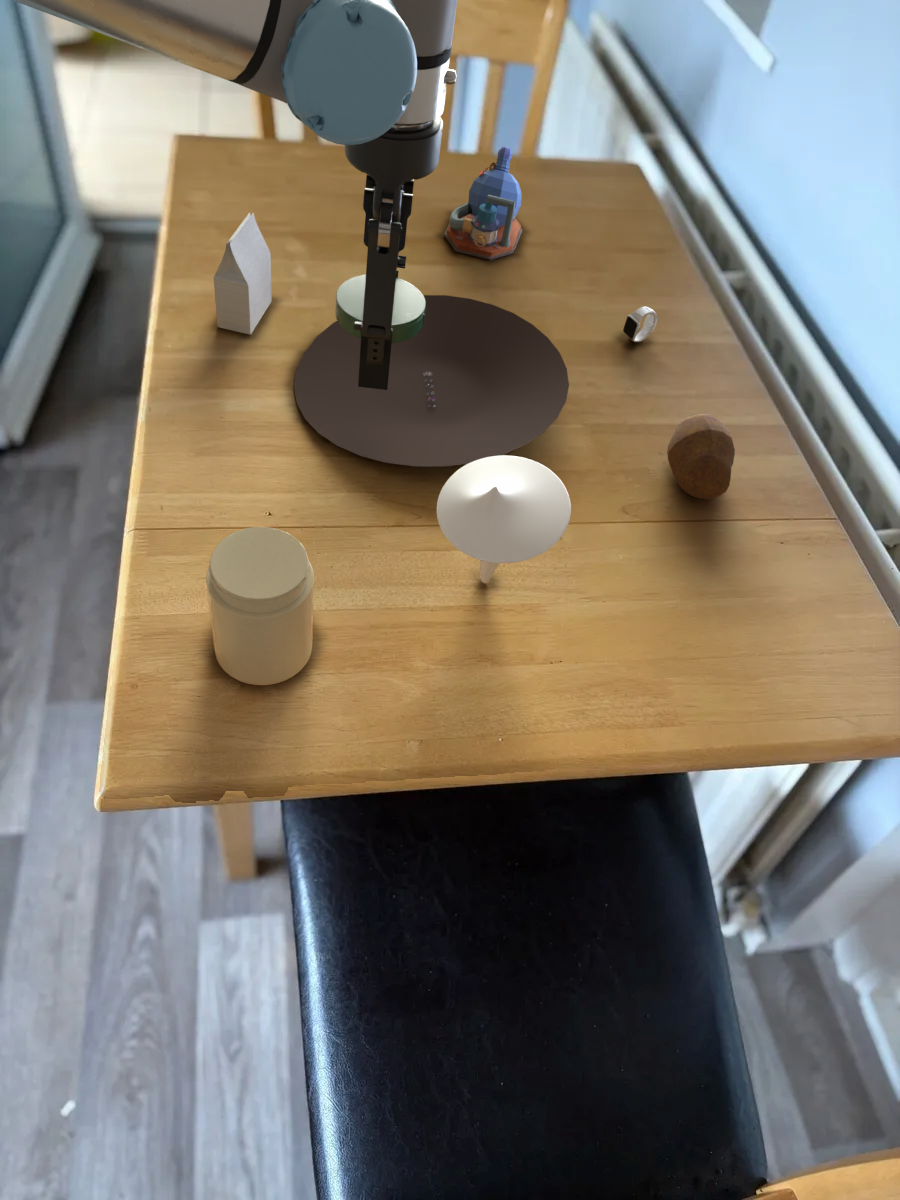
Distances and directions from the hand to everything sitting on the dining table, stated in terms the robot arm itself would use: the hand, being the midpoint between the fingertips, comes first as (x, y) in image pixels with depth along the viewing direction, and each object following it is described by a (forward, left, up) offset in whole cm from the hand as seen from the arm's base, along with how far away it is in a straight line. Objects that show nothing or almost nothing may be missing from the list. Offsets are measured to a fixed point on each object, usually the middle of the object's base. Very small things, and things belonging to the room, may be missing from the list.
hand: (376, 357), depth 87 cm
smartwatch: (+26, +23, -7) cm, 35 cm away
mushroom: (+15, -19, -7) cm, 25 cm away
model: (+5, +39, -7) cm, 40 cm away
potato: (+33, +1, -7) cm, 34 cm away
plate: (+5, +5, -7) cm, 10 cm away
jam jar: (-1, -31, -6) cm, 32 cm away
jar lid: (0, 0, +6) cm, 6 cm away
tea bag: (-17, +11, -7) cm, 21 cm away
